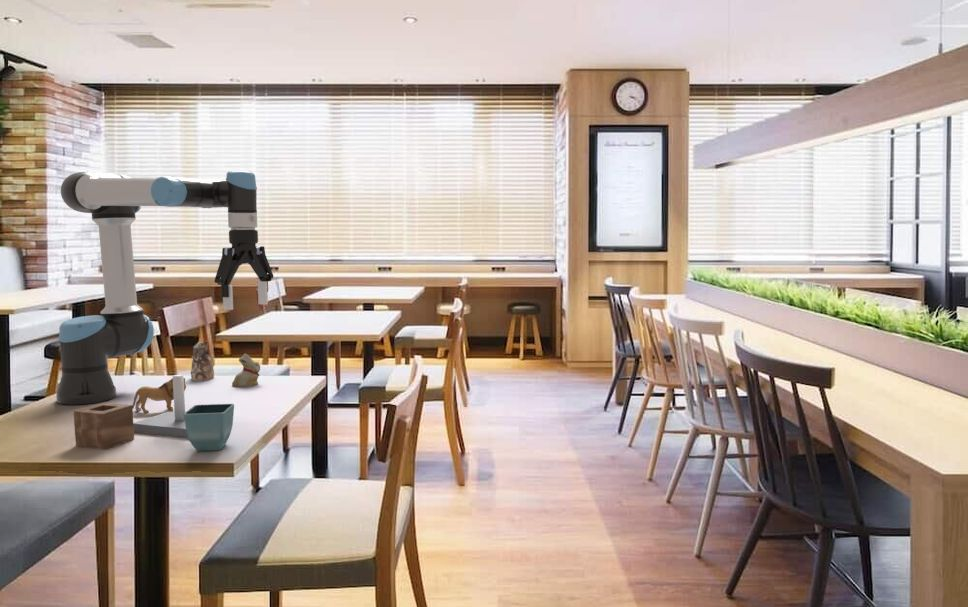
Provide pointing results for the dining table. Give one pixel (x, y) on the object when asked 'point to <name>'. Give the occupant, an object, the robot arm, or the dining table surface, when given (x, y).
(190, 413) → the flower pot
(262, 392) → the dining table surface
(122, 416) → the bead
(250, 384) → the chocolate bunny
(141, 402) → the lion figurine
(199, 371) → the figurine
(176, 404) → the spindle stand
